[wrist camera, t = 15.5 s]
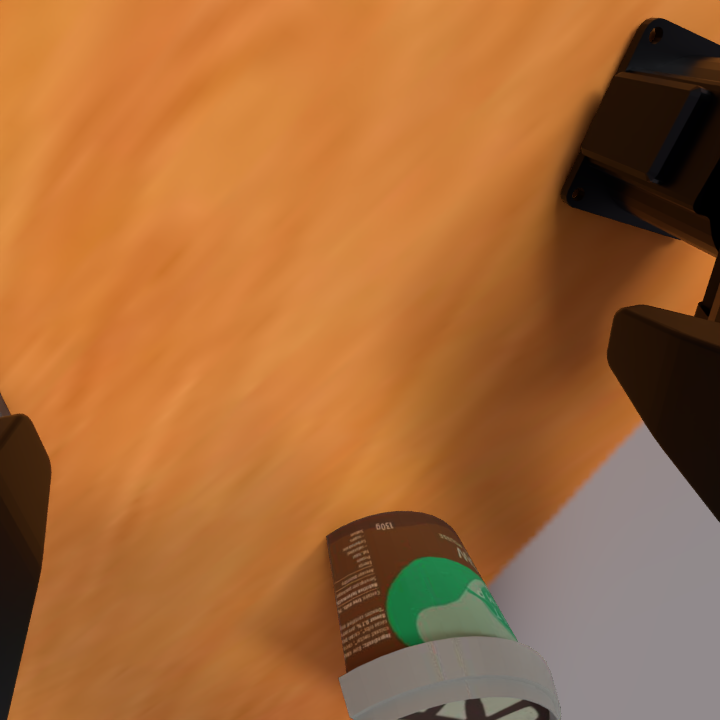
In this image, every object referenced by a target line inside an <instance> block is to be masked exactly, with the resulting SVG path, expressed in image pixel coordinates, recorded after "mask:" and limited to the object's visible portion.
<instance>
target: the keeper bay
mask: <svg viewBox="0 0 720 720" xmlns="http://www.w3.org/2000/svg"><path fill="white" fill-rule="evenodd" d="M9 415H11V414H10V412H9V410H8V408H7V406H6V404H5V402H4V400H3V398H2V396H1V394H0V417H3V416H9Z"/></svg>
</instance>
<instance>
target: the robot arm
mask: <svg viewBox="0 0 720 720" xmlns="http://www.w3.org/2000/svg"><path fill="white" fill-rule="evenodd" d="M653 28H655V32H656V33H655V37H654V39H653V40H652V41H651V42H650V41H649V35H650V32H651V31H652V30H653ZM577 188H579V193H578V195H577V196H576V197H574V198H573V197H572V195H573V192H574V191H575V190H576V189H577ZM561 198H562V200H563V202H564V203H566V204H568V205H569V206H571V207H573V208H577V209H580V210H583V211H587V212H590V213H593V214H596V215H600V216H603V217H606V218H610V219H613V220H616V221H619V222H623V223H626V224H629V225H633V226H636V227H639V228H642V229H646V230H649V231H652V232H656V233H659V234H662V235H665V236H669V237H672V238H675V239H679V240H683V241H685V242H687V243H688V244H690V245H692V246H694V247H696V248H698V249H700V250H702V251H704V252H706V253H708V254H710V255H712V256H714V257H716V261H715V264H714V268H713V271H712V274H711V277H710V280H709V283H708V286H707V289H706V292H705V296H704V299H703V302H699V303H698V306H697V309H696V312H695V315H694V317H693V316H689V315H685V314H681V313H677V312H673V311H669V310H665V309H661V308H656V307H652V306H648V305H635V306H630V307H624V308H621V309H619V310H618V311H617V312H616V313H615V315H614V318H613V323H612V328H611V333H610V338H609V344H608V349H607V360H608V363H609V366H610V368H611V370H612V371H613V373H614V375H615V376H616V378H617V379H618V381H619V383H620V384H621V386H622V387H623V389H624V391H625V392H626V394H627V395H628V397H629V399H630V400H631V402H632V404H633V405H634V407H635V408H636V410H637V412H638V413H639V415H640V416H641V418H642V420H643V421H644V423H645V425H646V426H647V428H648V429H649V430H650V432H651V434H652V435H653V437H654V438H655V439H656V441H657V442H658V443H659V445H660V446H661V448H662V449H663V450H664V452H665V453H666V454H667V455H668V457H669V458H670V459H671V460H672V462H673V463H674V465H675V466H676V467H677V468H678V470H679V471H680V472H681V474H682V475H683V476H684V477H685V479H686V480H687V481H688V483H689V484H690V485H691V486H692V488H693V489H694V490H695V492H696V493H697V494H698V495H699V497H700V498H701V499H702V501H703V502H704V503H705V504H706V506H707V507H708V508H709V510H710V511H711V512H712V513H713V515H714V516H715V517H716V519H717V520H718V521H719V522H720V45H718V44H716V43H714V42H712V41H710V40H708V39H706V38H703V37H701V36H699V35H697V34H695V33H693V32H691V31H689V30H687V29H684V28H682V27H680V26H678V25H676V24H674V23H672V22H670V21H667V20H665V19H662V18H649V19H646V20H645V21H644V22H643V23H641V25H640V26H639V28H638V29H637V31H636V34H635V36H634V38H633V40H632V42H631V44H630V46H629V48H628V50H627V53H626V55H625V57H624V59H623V61H622V63H621V65H620V67H619V70H618V72H617V74H616V76H614V77H613V79H612V81H611V83H610V85H609V87H608V89H607V91H606V93H605V96H604V98H603V100H602V102H601V104H600V106H599V108H598V110H597V113H596V115H595V117H594V119H593V121H592V123H591V125H590V127H589V130H588V132H587V134H586V136H585V138H584V140H583V142H582V144H581V150H580V152H579V154H578V156H577V159H576V161H575V163H574V165H573V167H572V169H571V171H570V173H569V175H568V178H567V180H566V182H565V184H564V186H563V188H562V192H561ZM50 482H51V464H50V460H49V457H48V455H47V452H46V450H45V448H44V446H43V444H42V442H41V440H40V438H39V436H38V433H37V431H36V429H35V427H34V425H33V423H32V421H31V420H30V418H29V417H28V416H26V415H24V414H14V415H9V416H3V417H0V720H7V718H8V714H9V709H10V705H11V701H12V696H13V692H14V688H15V683H16V679H17V675H18V670H19V666H20V662H21V657H22V653H23V649H24V644H25V640H26V635H27V631H28V627H29V622H30V618H31V614H32V609H33V605H34V601H35V596H36V592H37V588H38V583H39V578H40V573H41V568H42V560H43V553H44V542H45V532H46V522H47V512H48V502H49V492H50Z"/></svg>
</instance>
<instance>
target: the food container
mask: <svg viewBox="0 0 720 720" xmlns="http://www.w3.org/2000/svg"><path fill="white" fill-rule="evenodd" d="M326 537H327V543H328V550H329V557H330V564H331V570H332V577H333V584H334V591H335V597H336V604H337V611H338V618H339V624H340V631H341V638H342V644H343V651H344V658H345V665H346V671H347V673H346V674H345V675H343V676H341V677H339V682H340V685H341V689H342V692H343V696H344V699H345V703H346V706H347V709H348V713H349V716H350V718H352V719H353V720H561V707H560V703H559V700H558V696H557V693H556V689H555V686H554V682H553V678H552V675H551V672H550V669H549V667H548V665H547V662H546V661H545V660H544V659H543V657H542V656H541V655H540V654H539V653H538V652H536V651H534V650H533V649H532V648H530V647H529V646H526V645H524V644H521V643H518V641H517V639H516V637H515V636H514V634H513V632H512V630H511V629H510V627H509V625H508V623H507V622H506V620H505V618H504V616H503V615H502V613H501V611H500V609H499V608H498V606H497V604H496V602H495V600H494V599H493V597H492V595H491V593H490V592H489V590H488V588H487V586H486V585H485V583H484V581H483V579H482V578H481V576H480V574H479V572H478V571H477V569H476V567H475V565H474V564H473V562H472V560H471V558H470V557H469V555H468V553H467V551H466V550H465V548H464V546H463V544H462V542H461V541H460V539H459V537H458V535H457V534H456V532H455V531H454V530H453V529H452V527H451V526H449V525H448V524H447V523H446V522H444V521H443V520H441V519H439V518H437V517H435V516H432V515H428V514H425V513H420V512H412V511H395V512H386V513H380V514H376V515H371V516H367V517H365V518H362V519H359V520H356V521H353V522H351V523H349V524H347V525H345V526H343V527H340V528H339V529H337V530H335V531H334V532H332V533H330V534H329V535H327V536H326Z"/></svg>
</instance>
